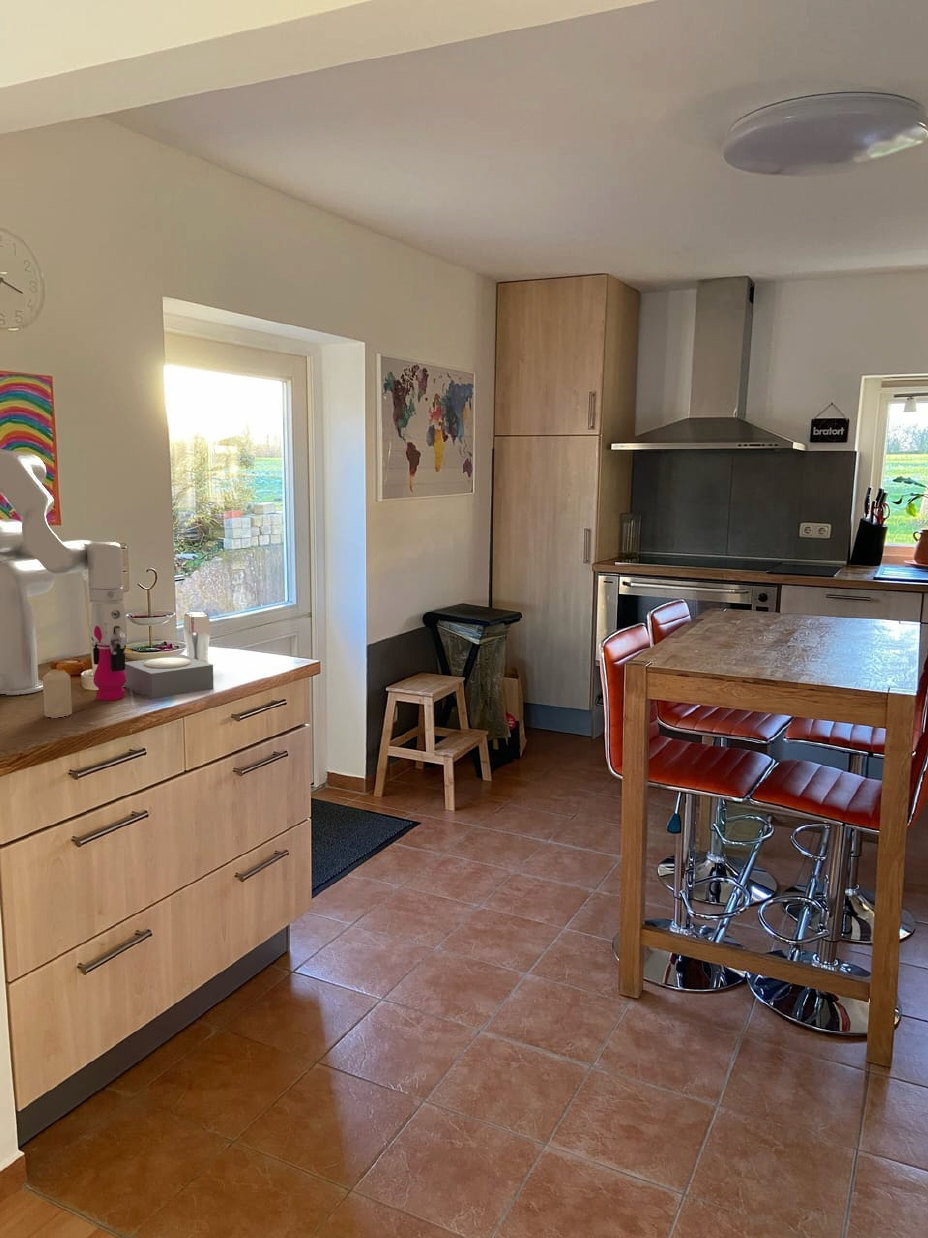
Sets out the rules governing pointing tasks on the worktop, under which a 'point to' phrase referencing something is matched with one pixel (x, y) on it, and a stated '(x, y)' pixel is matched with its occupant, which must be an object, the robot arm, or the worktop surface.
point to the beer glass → (197, 635)
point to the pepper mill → (107, 674)
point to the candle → (57, 694)
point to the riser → (168, 676)
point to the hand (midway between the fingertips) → (109, 667)
